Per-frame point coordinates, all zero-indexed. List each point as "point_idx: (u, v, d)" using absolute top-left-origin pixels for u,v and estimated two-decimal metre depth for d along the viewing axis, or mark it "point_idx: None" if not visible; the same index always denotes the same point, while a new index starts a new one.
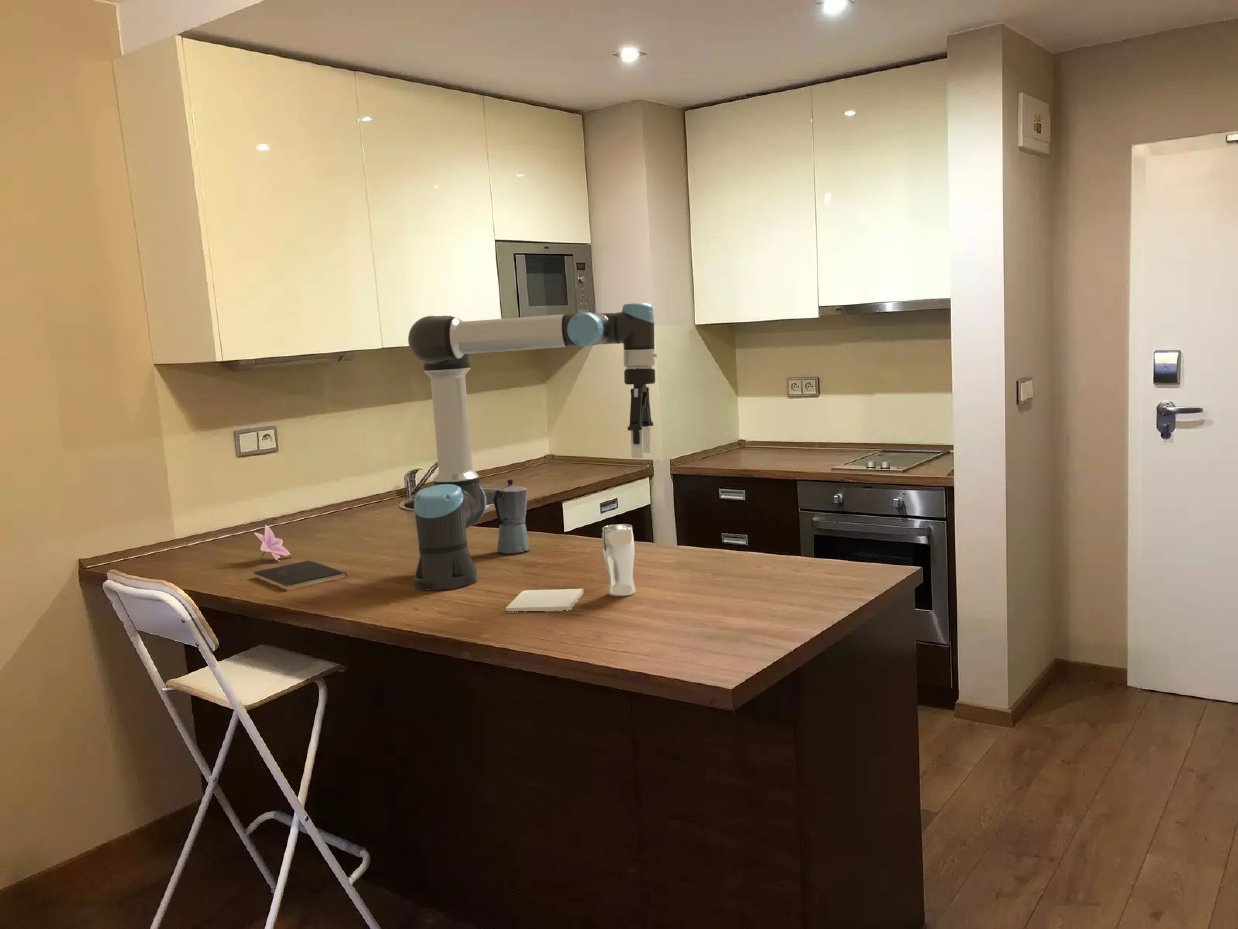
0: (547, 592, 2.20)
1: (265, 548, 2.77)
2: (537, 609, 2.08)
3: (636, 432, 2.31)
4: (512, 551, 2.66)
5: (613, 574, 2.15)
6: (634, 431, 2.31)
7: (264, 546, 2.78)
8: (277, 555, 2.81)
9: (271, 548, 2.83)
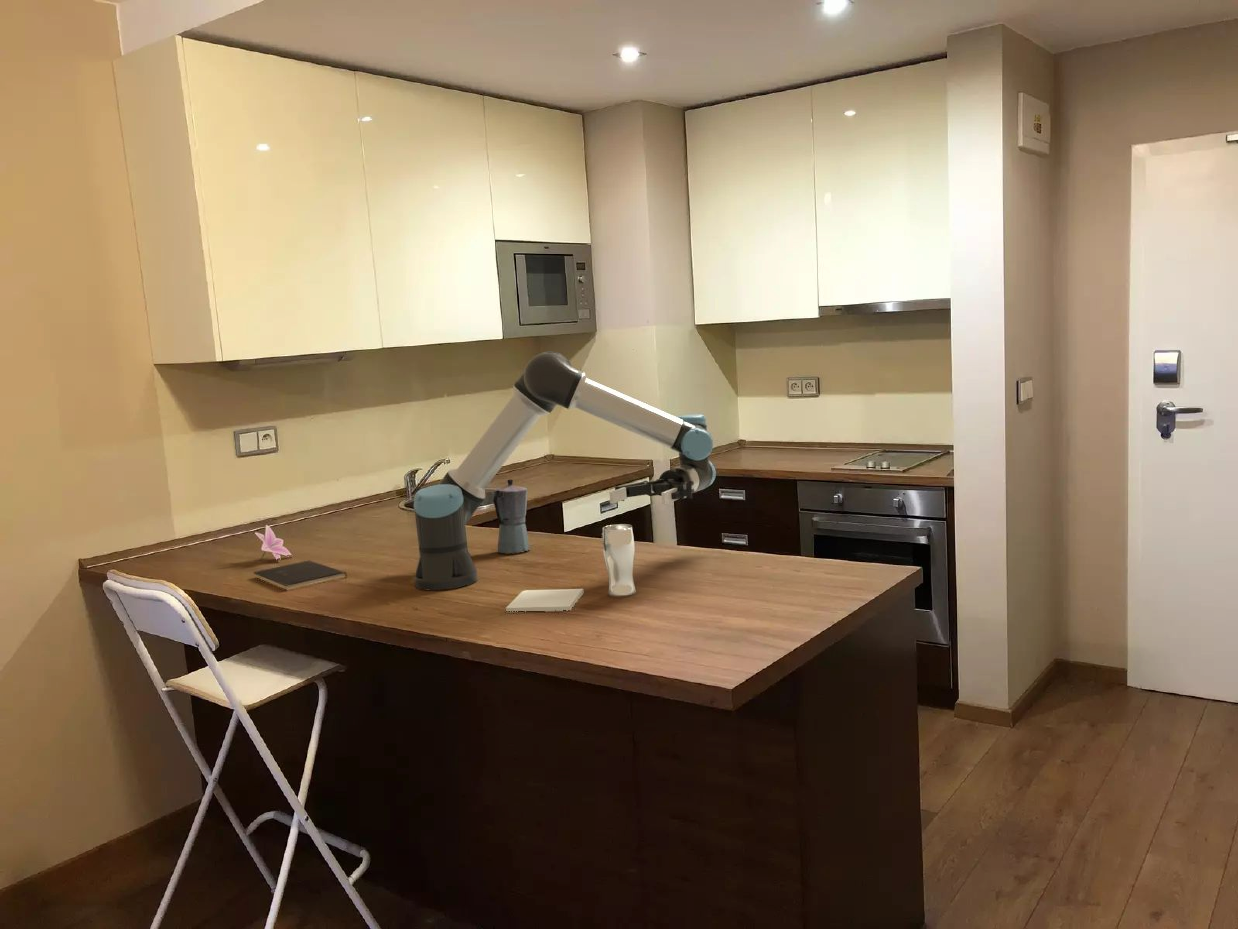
0: (547, 592, 2.20)
1: (266, 548, 2.78)
2: (537, 609, 2.08)
3: (681, 494, 2.25)
4: (512, 551, 2.66)
5: (613, 574, 2.15)
6: (682, 492, 2.25)
7: (265, 546, 2.78)
8: (278, 555, 2.81)
9: (272, 548, 2.83)
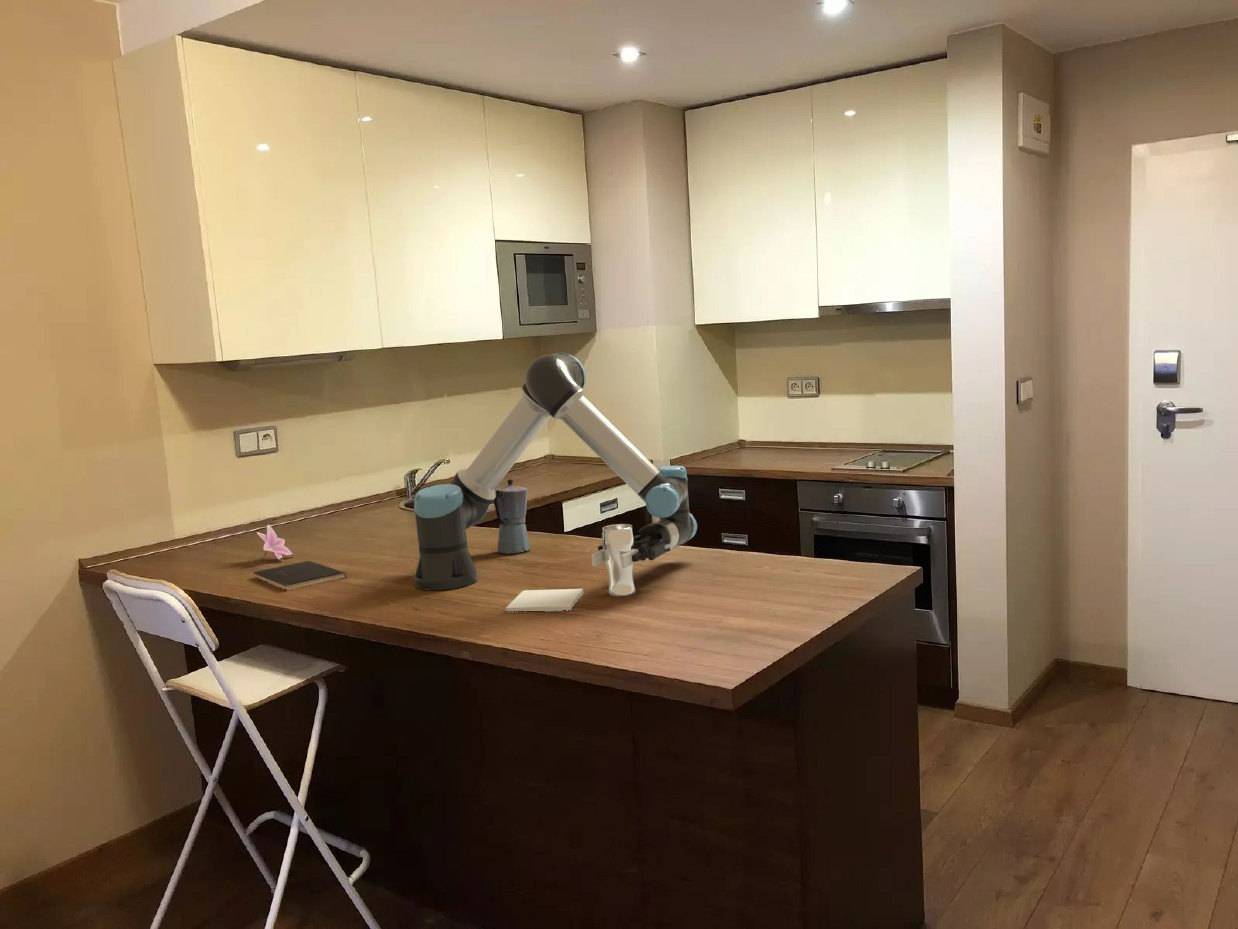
0: (547, 592, 2.20)
1: (268, 548, 2.78)
2: (537, 609, 2.08)
3: (642, 556, 2.16)
4: (512, 551, 2.66)
5: (613, 574, 2.15)
6: (643, 554, 2.16)
7: (267, 546, 2.78)
8: (279, 555, 2.82)
9: (273, 548, 2.84)
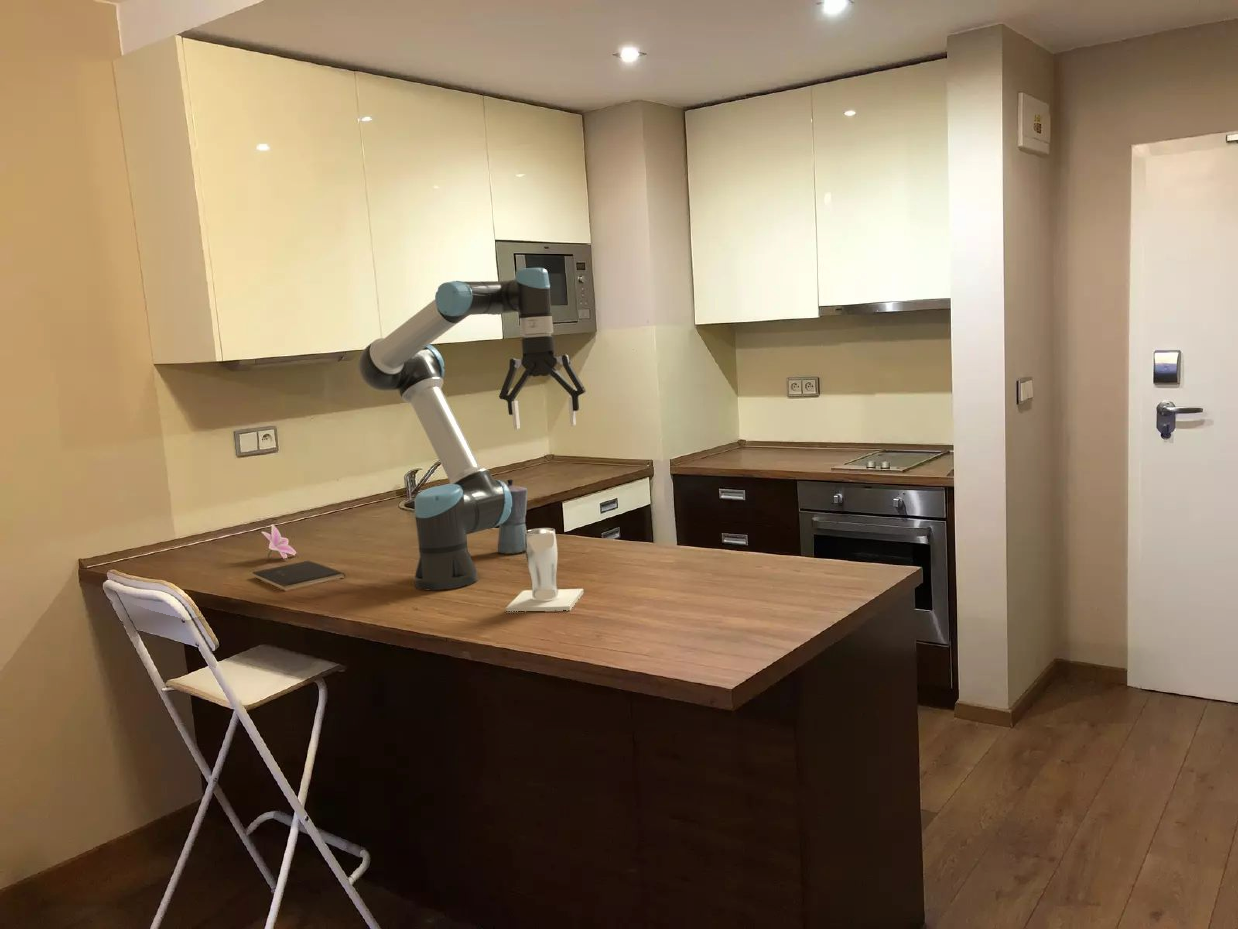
0: None
1: (273, 547, 2.78)
2: (537, 609, 2.08)
3: None
4: (512, 551, 2.66)
5: (535, 579, 2.12)
6: None
7: (272, 545, 2.79)
8: (284, 554, 2.82)
9: (278, 547, 2.84)
